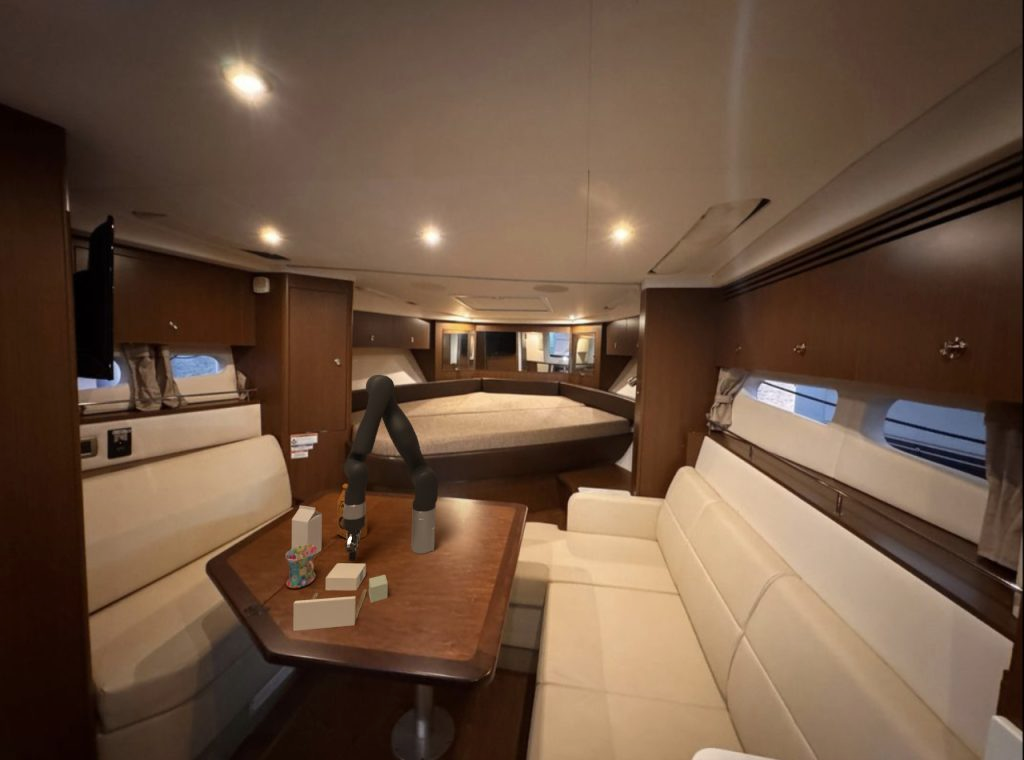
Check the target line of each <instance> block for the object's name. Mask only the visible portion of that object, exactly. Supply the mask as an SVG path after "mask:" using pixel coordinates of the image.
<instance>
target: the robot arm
mask: <svg viewBox="0 0 1024 760" xmlns="http://www.w3.org/2000/svg"><path fill="white" fill-rule="evenodd" d="M365 390H366V393H367V394H368V399H367V405H366V408H365V411H364V415H363V417H362V419H361V421H360V423H359V426H358V428H357V430H356V434H355V436H354V440H353V443H352V447H351V449H350V451H349V453H348V455H347V457H346V459H345V462H344V466H343V472H344V474H345V476H346V477H347V480H348V481H347V484H348V487H347V488H346V490H345V499H344V509H343V529H344V530H347V531H348V533H347V536H346V538H347V539H346V538H345V539H346V542H345V543H344V549H345V550H346V553H348V554H349V555H348V560H349V562H355V561H356V560H357V555H358V554H357V553H358V552H357V551H358V547H359V544H360V540H361V538H360V535H361V530H362V528H363V527H364V525H365V516H366V506H367V503H366V504H365V502H366V494H367V493H366V492H367V491H366V489H367V486H368V482H369V474H370V472H369V471H370V470H369V467H368V465H367V464H366V461H367V458H368V456H369V455H370V454H371V453H372V451H373V450H374V445H375V442H376V439H377V435H378V432H379V429H380V424H381V422H383V425H384V426H385V429H386V431H387V433H388V436H389V439H390V440H391V442H392V444H393V445H394V448H395V449H396V451H397V452H398V454H399V456H400V457H401V458H402V459H403V461H404V462H405V465H406V468H407V470H408V473H409V476H410V479H411V481H412V484H413V486H414V499H413V500H412V509H411V510H412V512H411V513H412V515H411V516H412V517H411V545H410V546H411V547H410V548H411V551H412V552H413V553H415V554H418V555H419V554H420V555H421V554H423V555H424V554H426V553H427V554H428V553H430V552H434V551H435V546H436V545H435V544H436V505H437V501H438V493H439V477H438V475H437V473H435V471H434V470H433V469H432V468H431V467H430V465H429V464H428V463H427V461H426V458H425V457H424V456H423V453H422V450H421V446H420V442H419V439H418V436H417V433H416V431H415V429H414V426H413V425H412V423H411V421H410V420H409V418H408V416H407V415H406V414H405V412H404V411H403V410H402V409H401V407H400V406H399V404H398V402H397V400H396V397H395V396H394V390H395V383H394V381H393V379H392V378H391V377H389V376H388V375H384V374H375V375H372V376H370V377H369V378H368V379H367V381H366V383H365Z"/></svg>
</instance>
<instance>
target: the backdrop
mask: <svg viewBox="0 0 1024 760" xmlns="http://www.w3.org/2000/svg"><path fill="white" fill-rule="evenodd" d="M356 598H357V596H356V595H353V596H342V597H341V596H340V597H331V598H330V597H329V598H316V599H314V600H311V599H305V600H303V599H302V600H295V601H294V602H293V621H292V622H293V629H292V630H293V632H295V631H296V632H298V631H308V630H317V629H318V630H319V629H329V628H338V627H340V628H341V627H349V626H350V627H351V626H355V624H356V621H355V610H356V606H357V605H356V600H357V599H356Z"/></svg>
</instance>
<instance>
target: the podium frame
mask: <svg viewBox="0 0 1024 760" xmlns="http://www.w3.org/2000/svg"><path fill="white" fill-rule="evenodd" d="M367 592H368V588H363V590H362V592H361V596H360V597H359V600H358V603H357V605H356V607H355V622H357V618H358V616H359V613H360V611H361V607H362V606H363V603H364V601H365V597H366V596H367V595H366V594H367ZM318 595H319V592H314V593H313V595H312V597H311V598H310V600H314V599H317V597H318Z"/></svg>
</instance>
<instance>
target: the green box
mask: <svg viewBox="0 0 1024 760" xmlns="http://www.w3.org/2000/svg"><path fill="white" fill-rule="evenodd" d="M388 583H389V582H388V580H387V577H386V574H382V575H378V576H374V577H370V578H368V596H369V601H370V602H369V603H370V604H372V603H375V602H378V601H382V600H385V599H388V590H389V589H388V585H389V584H388Z"/></svg>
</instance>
